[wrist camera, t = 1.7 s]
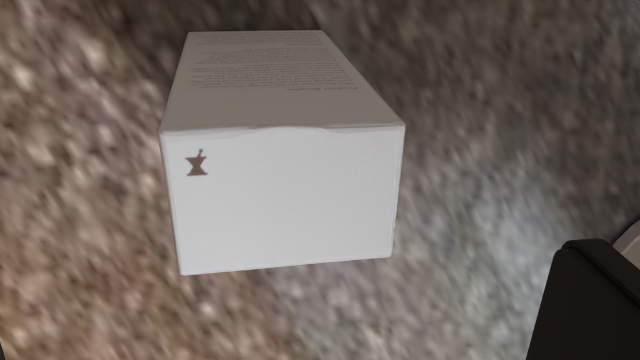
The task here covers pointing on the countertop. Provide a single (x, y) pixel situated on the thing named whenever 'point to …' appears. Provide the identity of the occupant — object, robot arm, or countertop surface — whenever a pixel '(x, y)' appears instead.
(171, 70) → the countertop surface
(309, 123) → the skincare box
